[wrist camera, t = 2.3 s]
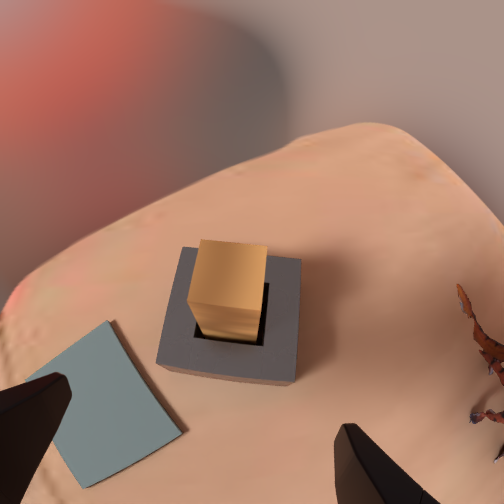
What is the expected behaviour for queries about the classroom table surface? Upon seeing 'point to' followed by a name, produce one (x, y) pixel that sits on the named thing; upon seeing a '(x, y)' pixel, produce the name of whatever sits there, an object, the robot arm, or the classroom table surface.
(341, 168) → the classroom table surface
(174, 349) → the socket block
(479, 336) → the toy dinosaur
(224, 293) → the peg
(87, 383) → the pad
